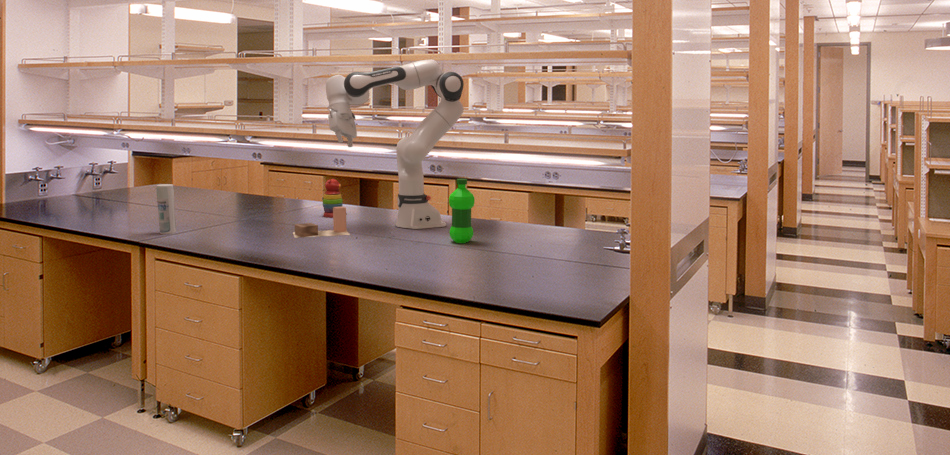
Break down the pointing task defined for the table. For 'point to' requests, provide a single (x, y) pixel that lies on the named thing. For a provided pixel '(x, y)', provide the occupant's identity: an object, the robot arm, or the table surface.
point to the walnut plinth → (306, 229)
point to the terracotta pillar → (339, 219)
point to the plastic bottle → (461, 213)
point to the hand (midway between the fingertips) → (345, 144)
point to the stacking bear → (332, 197)
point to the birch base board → (325, 233)
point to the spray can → (166, 208)
